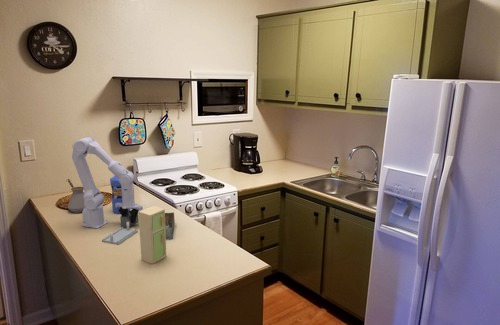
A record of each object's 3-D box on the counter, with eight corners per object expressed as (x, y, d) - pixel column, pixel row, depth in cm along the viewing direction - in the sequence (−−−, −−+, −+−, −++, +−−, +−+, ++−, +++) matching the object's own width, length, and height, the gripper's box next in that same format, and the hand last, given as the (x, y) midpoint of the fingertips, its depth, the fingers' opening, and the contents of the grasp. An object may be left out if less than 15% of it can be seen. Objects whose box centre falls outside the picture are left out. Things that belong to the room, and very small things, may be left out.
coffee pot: (94, 210, 194) (91, 184, 191) (72, 215, 187) (69, 188, 183) (80, 201, 209) (78, 176, 206) (59, 205, 201) (56, 180, 198)
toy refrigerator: (153, 265, 138) (151, 215, 133) (140, 260, 142) (138, 211, 137) (168, 257, 145) (166, 209, 140) (155, 252, 148) (153, 205, 144)
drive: (120, 228, 172) (120, 216, 171) (131, 221, 181) (131, 210, 179) (128, 229, 171) (127, 217, 170) (138, 222, 179) (138, 211, 178)
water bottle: (126, 214, 190) (123, 169, 184) (109, 214, 190) (106, 169, 184) (132, 208, 199) (130, 165, 193) (116, 208, 199) (113, 165, 193)
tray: (102, 241, 157) (101, 231, 156) (121, 229, 170) (121, 220, 169) (119, 244, 155) (118, 234, 154) (137, 232, 168) (137, 222, 167)
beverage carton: (154, 240, 160) (154, 227, 158) (159, 224, 178) (158, 212, 177) (172, 239, 161) (172, 226, 160) (175, 223, 180) (174, 211, 178)
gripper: (110, 197, 171) (112, 223, 174) (136, 200, 167) (137, 227, 170) (119, 193, 177) (121, 218, 180) (144, 196, 173) (145, 221, 176)
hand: (129, 222), depth 175 cm, fingers closed on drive, 4 cm apart
